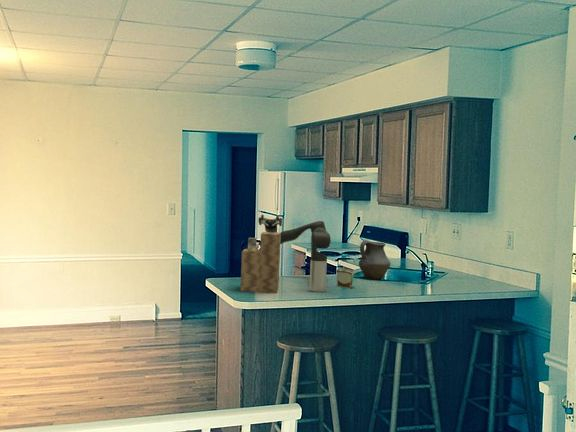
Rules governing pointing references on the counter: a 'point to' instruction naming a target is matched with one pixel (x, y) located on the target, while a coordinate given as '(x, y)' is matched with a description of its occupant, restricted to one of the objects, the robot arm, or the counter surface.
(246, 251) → the walnut step stand
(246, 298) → the counter surface
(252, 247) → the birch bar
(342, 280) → the food container
